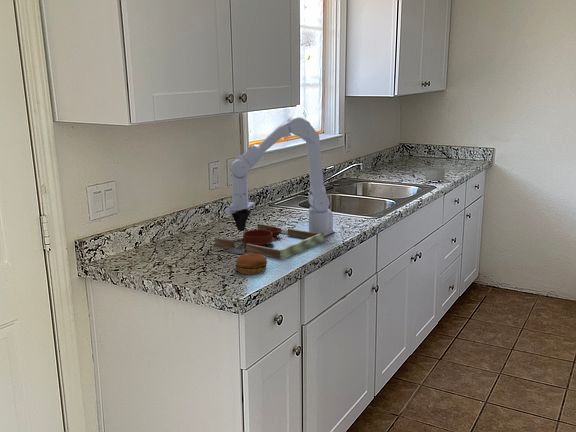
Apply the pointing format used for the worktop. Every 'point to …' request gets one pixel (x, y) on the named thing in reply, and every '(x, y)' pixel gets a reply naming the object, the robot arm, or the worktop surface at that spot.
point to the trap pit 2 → (284, 232)
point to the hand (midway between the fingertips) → (240, 230)
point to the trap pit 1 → (235, 251)
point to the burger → (251, 263)
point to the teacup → (435, 173)
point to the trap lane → (283, 253)
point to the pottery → (261, 236)
